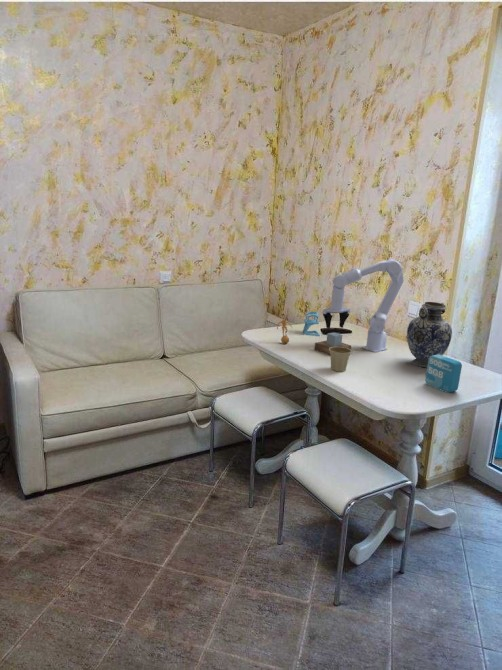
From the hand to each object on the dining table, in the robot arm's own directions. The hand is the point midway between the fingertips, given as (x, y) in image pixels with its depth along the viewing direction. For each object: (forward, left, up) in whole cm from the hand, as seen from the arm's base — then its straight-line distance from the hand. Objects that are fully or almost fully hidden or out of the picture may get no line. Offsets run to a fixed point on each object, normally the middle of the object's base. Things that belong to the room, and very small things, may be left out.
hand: (334, 327), depth 234 cm
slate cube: (+7, +6, -6) cm, 11 cm away
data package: (+6, +61, -10) cm, 62 cm away
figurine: (+18, -16, -10) cm, 26 cm away
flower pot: (+25, +25, -10) cm, 37 cm away
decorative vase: (-15, +41, -10) cm, 45 cm away
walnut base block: (+7, +6, -10) cm, 13 cm away
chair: (-7, -22, -10) cm, 25 cm away
